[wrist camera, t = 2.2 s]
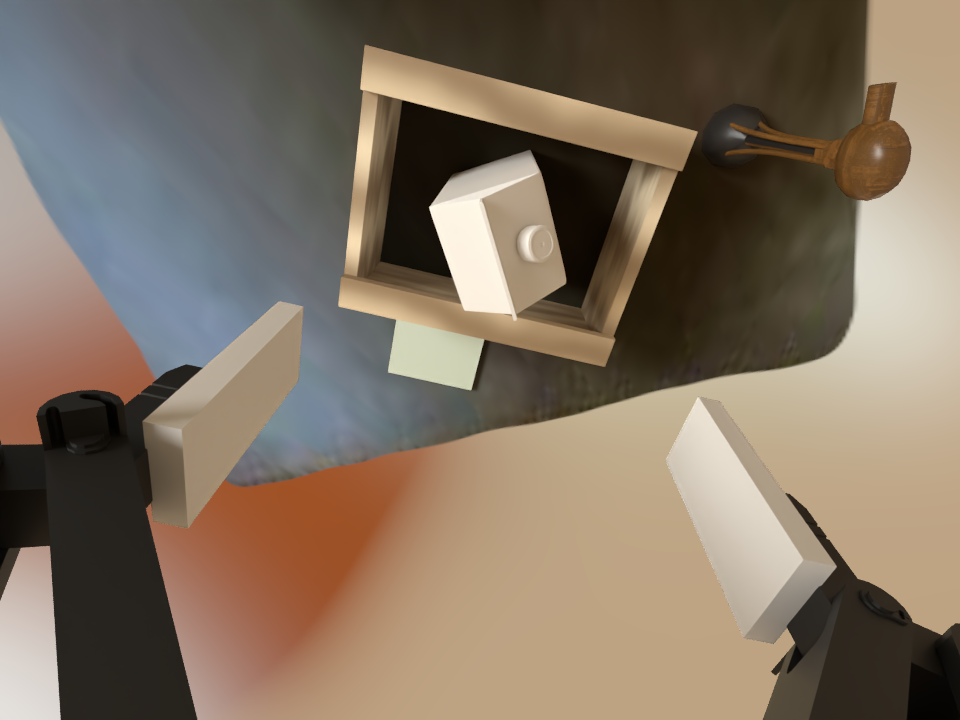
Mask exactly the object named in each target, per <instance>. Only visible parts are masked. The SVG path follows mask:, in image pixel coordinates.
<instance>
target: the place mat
mask: <svg viewBox="0 0 960 720" xmlns="http://www.w3.org/2000/svg"><path fill="white" fill-rule="evenodd" d="M483 343H484V339H480V338H476V337H471V336H467V335H462V334H458V333H454V332H449V331H445V330H440V329H436V328H432V327H427V326H423V325H418V324H414V323H410V322H405V321H401V320H396V326H395V332H394V339H393V345H392V351H391V357H390V363H389V369H388V372H390V373H394V374H399V375H404V376H408V377H413V378H417V379H422V380H426V381H431V382H435V383H440V384H444V385H449V386H453V387H458V388H463V389H467V390H471V389H472V385H473V382H474V378H475V374H476V370H477V366H478V362H479V358H480V354H481V351H482V347H483Z"/></svg>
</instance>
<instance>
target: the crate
mask: <svg viewBox="0 0 960 720" xmlns="http://www.w3.org/2000/svg"><path fill="white" fill-rule="evenodd" d="M360 89H362V90H363V99H362V108H361V118H360V128H359V137H358V147H357V157H356V166H355V176H354V185H353V195H352V205H351V214H350V224H349V234H348V243H347V253H346V262H345V272H344V274H343V276H342V277H341V285H340V295H339V305H338V306H339V307H344V308H348V309H352V310H357V311H361V312H366V313H370V314H374V315H379V316H383V317H388V318H392V319H396V320H401V321H405V322H410V323H414V324H418V325H423V326H427V327H432V328H436V329H440V330H445V331H449V332H454V333H458V334H462V335H467V336H471V337H476V338H480V339H484V340H489V341H493V342H498V343H502V344H506V345H511V346H515V347H520V348H524V349H528V350H533V351H537V352H542V353H546V354H550V355H555V356H559V357H564V358H568V359H572V360H577V361H581V362H586V363H590V364H594V365H599V366H603V367H605V365H606V362H607V360H608V357H609V355H610V352H611V350H612V347H613V345H614V342H615V338H614V333H615V331H616V328H617V326H618V323H619V320H620V318H621V315H622V313H623V310H624V308H625V305H626V303H627V300H628V298H629V295H630V292H631V290H632V287H633V285H634V282H635V280H636V277H637V275H638V272H639V269H640V267H641V264H642V262H643V259H644V257H645V254H646V252H647V249H648V247H649V244H650V241H651V239H652V236H653V234H654V231H655V229H656V226H657V224H658V221H659V218H660V216H661V213H662V211H663V208H664V206H665V203H666V201H667V198H668V195H669V193H670V190H671V188H672V185H673V183H674V180H675V178H676V175H677V173H678V170H679V171H682V170H683V168H684V165H685V163H686V160H687V158H688V155H689V153H690V150H691V148H692V145H693V143H694V140H695V138H696V135H697V133H698V132H697V131H693V130H689V129H685V128H681V127H677V126H674V125H670V124H666V123H662V122H658V121H654V120H651V119H647V118H643V117H639V116H635V115H632V114H628V113H624V112H620V111H616V110H612V109H609V108H605V107H601V106H597V105H593V104H589V103H586V102H582V101H578V100H574V99H570V98H566V97H563V96H559V95H555V94H551V93H547V92H543V91H540V90H536V89H532V88H528V87H524V86H520V85H517V84H513V83H509V82H505V81H501V80H497V79H494V78H490V77H486V76H482V75H478V74H474V73H471V72H467V71H463V70H459V69H455V68H452V67H448V66H444V65H440V64H436V63H432V62H429V61H425V60H421V59H417V58H413V57H409V56H406V55H402V54H398V53H394V52H390V51H386V50H383V49H379V48H375V47H371V46H367V45H365V48H364V58H363V68H362V78H361V88H360ZM402 100H405V101H409V102H413V103H416V104H420V105H424V106H428V107H432V108H436V109H440V110H444V111H448V112H452V113H456V114H460V115H463V116H467V117H471V118H475V119H479V120H483V121H487V122H491V123H495V124H499V125H503V126H507V127H510V128H514V129H518V130H522V131H526V132H530V133H534V134H538V135H542V136H546V137H550V138H554V139H557V140H561V141H565V142H569V143H573V144H577V145H581V146H585V147H589V148H593V149H597V150H601V151H604V152H608V153H612V154H616V155H620V156H624V157H628V158H632V159H633V161H632V164H631V167H630V170H629V172H628V175H627V178H626V181H625V184H624V187H623V190H622V193H621V195H620V198H619V201H618V204H617V207H616V210H615V213H614V216H613V218H612V221H611V224H610V227H609V230H608V233H607V236H606V239H605V241H604V244H603V247H602V250H601V253H600V256H599V259H598V262H597V264H596V267H595V270H594V273H593V276H592V279H591V282H590V284H589V287H588V290H587V293H586V296H585V299H584V302H583V305H582V307H581V308H577V307H573V306H568V305H564V304H560V303H555V302H551V301H547V300H543V299H540V300H539V301H537V302H535V303H534V304H532V305H530V306H529V307H527V308H526V309H524V310H522V311H521V312H519V313H517V321H514V320H513V317H512V314H501V313H488V312H475V311H465V310H464V308H463V306H462V303H461V300H460V298H459V295H458V292H457V289H456V286H455V283H454V280H453V278H449V277H444V276H440V275H436V274H432V273H427V272H423V271H419V270H415V269H410V268H406V267H402V266H397V265H393V264H389V263H385V262H380V259H381V252H382V245H383V237H384V230H385V223H386V215H387V208H388V201H389V194H390V186H391V179H392V172H393V165H394V157H395V150H396V143H397V135H398V128H399V121H400V114H401V106H402Z"/></svg>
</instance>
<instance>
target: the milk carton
mask: <svg viewBox="0 0 960 720" xmlns="http://www.w3.org/2000/svg"><path fill="white" fill-rule="evenodd" d="M429 209H430V212H431V215H432V218H433V221H434V224H435V227H436V230H437V233H438V236H439V239H440V242H441V245H442V248H443V251H444V254H445V257H446V259H447V262H448V265H449V268H450V271H451V274H452V277H453V280H454V283H455V286H456V289H457V292H458V295H459V298H460V300H461V303H462V306H463V308H464V310H465V311H475V312H488V313H501V314H512V317H513V320H514V321H517V313H519V312H521V311H522V310H524V309H526V308H527V307H529V306H530V305H532V304H534V303H535V302H537V301H539V300H540V299H542V298H544V297H545V296H547V295H548V294H550V293H552V292H553V291H555V290H557V289H558V288H560V287H561V286H563V285H565V284H566V275H565V270H564V265H563V261H562V257H561V252H560V248H559V244H558V240H557V235H556V231H555V227H554V223H553V218H552V214H551V210H550V206H549V201H548V197H547V193H546V189H545V185H544V181H543V178H542V174H541V172H540V170H539V167H538V165H537V163H536V161H535V159H534V157H533V154H532V152H531V150H527V151H524V152H521V153H518V154H515V155H512V156H509V157H506V158H503V159H499V160H496V161H493V162H490V163H487V164H484V165H481V166H478V167H474V168H471V169H468V170H465V171H462V172H459V173H456V174H453V175H452V176H451V178H450V179H449V180H448V182H447V183H446V185H445V186H444V187H443V189H442V190H441V192H440V193H439V194H438V196H437V197H436V199H435V200H434V202H433V203H432V204H431V206H430V207H429Z"/></svg>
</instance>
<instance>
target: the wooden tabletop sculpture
mask: <svg viewBox="0 0 960 720" xmlns="http://www.w3.org/2000/svg"><path fill="white" fill-rule="evenodd" d="M895 88H896V82H892V83H883V84H875V85H870V86H869V87H868V93H867V98H866V104H865V110H864V115H863V121H862V124H860V125H858V126H856V127H855V128H853V129H851V130H850V131H849V133H848V134H847V135H846V136H845V138H844V139H837V140H835V141H830V140H822V139H815V138H808V137H802V136H796V135H790V134H787V133H783V132H779V131H776V130H774V129H771V128H769V127H768V123H767V121H766V120H765V118H764V117H763V115H762V114H761V112H760V111H759V109H757V108H755V107H749V106H744V105H739V104H732V105H730V106H728V107H726V108H724V109H722V110H720V111H718V112H716V113H714V115H713V116H712V118H711V119H710V121H709V122H708V124H707V125H706V127H705V128H704V130H703V134H702V152H703V153H704V154H705V156H706V157H707V158H708V160H709V161H710V162H711V164H713V165H718V166H723V167H728V168H737V167H739V166H741V165H743V164H745V163H748V162H750V161H752V160H754V159H755V158H756V156H757V155H758V154H763V155H773V156H779V157H785V158H790V159H795V160H800V161H805V162H809V163H814V164H819V165H824V167H825V168H828V169H833V170H834V173H835V181H836V183H837V185H838V186H839V188H840V189H841V190H842V191H843V193H844V194H845V195H846V196H848V197H851V198H854V199H857V200H865V201H868V200H872V199H876V198H879V197H881V196H883V195H884V194H886V193H888V192H889V191H890V190H892V189H893V188H894V187H896V186H897V185H898V184H899V182H900V181H901V179H902V178H903V176H904V175H905V173H906V170H907V168H908V164H909V162H910V155H911V144H910V141H909V137H908V135H907V134H906V132H905V130H904V129H903V128H902V127H901V126H900V125H899V124H898V123H897V122H895V121H892V120H889V117H890V113H891V108H892V103H893V98H894V93H895ZM767 133H769V134H767Z"/></svg>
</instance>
